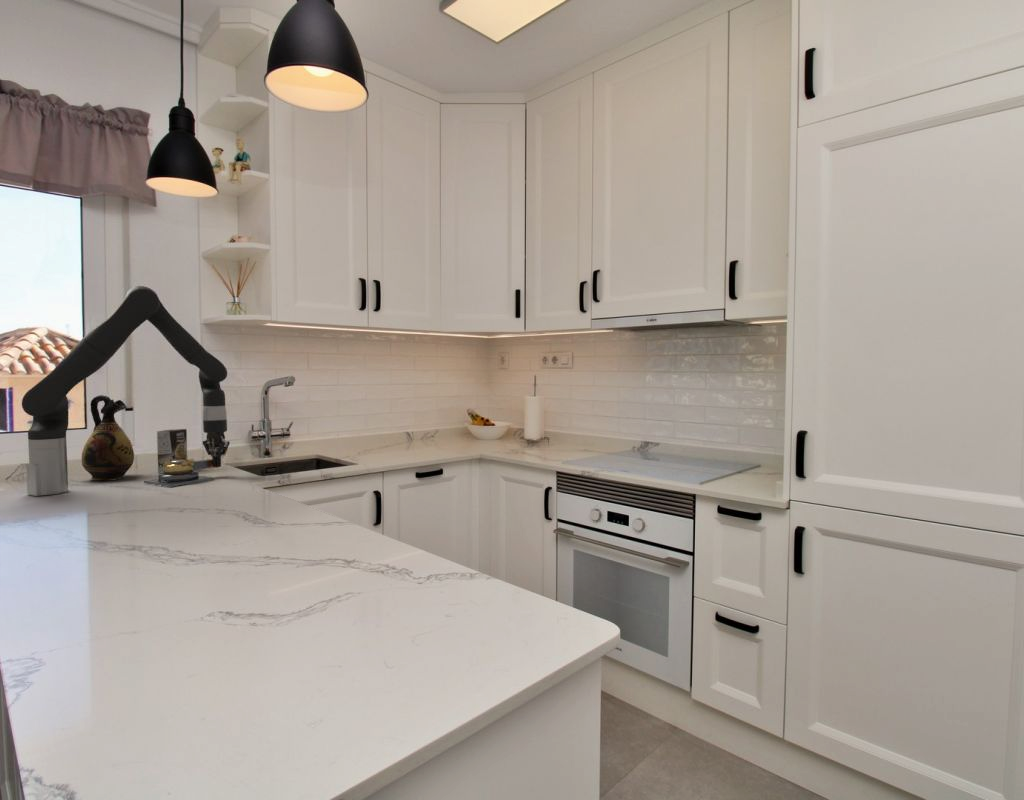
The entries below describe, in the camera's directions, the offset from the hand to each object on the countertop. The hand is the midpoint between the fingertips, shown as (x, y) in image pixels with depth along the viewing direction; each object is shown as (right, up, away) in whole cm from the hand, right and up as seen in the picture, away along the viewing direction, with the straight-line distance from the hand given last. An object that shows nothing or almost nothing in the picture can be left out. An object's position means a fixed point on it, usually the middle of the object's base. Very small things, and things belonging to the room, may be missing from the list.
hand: (216, 467), depth 201 cm
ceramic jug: (-40, -4, +1) cm, 40 cm away
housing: (-10, -4, -7) cm, 12 cm away
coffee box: (-25, -4, +15) cm, 29 cm away
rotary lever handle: (-7, -1, -4) cm, 8 cm away
